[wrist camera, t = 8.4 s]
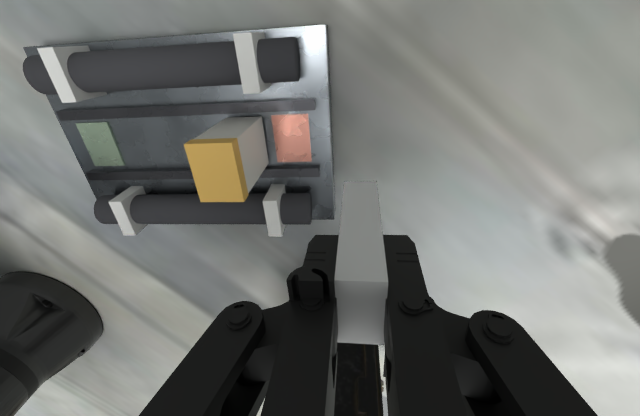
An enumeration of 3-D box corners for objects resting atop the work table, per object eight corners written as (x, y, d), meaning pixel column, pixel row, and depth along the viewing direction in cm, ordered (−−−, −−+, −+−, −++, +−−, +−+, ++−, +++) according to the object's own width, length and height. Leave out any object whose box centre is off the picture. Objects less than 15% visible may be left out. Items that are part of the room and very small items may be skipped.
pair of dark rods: (123, 217, 31) (100, 235, 29) (46, 48, 24) (6, 50, 21) (313, 217, 29) (308, 236, 26) (297, 29, 21) (288, 29, 19)
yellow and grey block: (235, 164, 27) (200, 202, 21) (225, 117, 25) (183, 144, 19) (269, 163, 26) (244, 202, 20) (262, 115, 24) (231, 142, 18)
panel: (119, 209, 34) (100, 223, 31) (45, 46, 26) (13, 47, 23) (335, 208, 31) (333, 223, 28) (327, 25, 23) (324, 24, 20)
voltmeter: (370, 343, 41) (386, 693, 19) (306, 338, 41) (253, 668, 20) (380, 251, 33) (429, 667, 11) (301, 247, 34) (207, 628, 12)
